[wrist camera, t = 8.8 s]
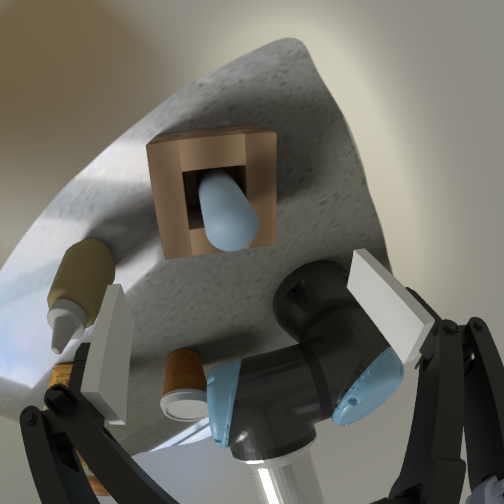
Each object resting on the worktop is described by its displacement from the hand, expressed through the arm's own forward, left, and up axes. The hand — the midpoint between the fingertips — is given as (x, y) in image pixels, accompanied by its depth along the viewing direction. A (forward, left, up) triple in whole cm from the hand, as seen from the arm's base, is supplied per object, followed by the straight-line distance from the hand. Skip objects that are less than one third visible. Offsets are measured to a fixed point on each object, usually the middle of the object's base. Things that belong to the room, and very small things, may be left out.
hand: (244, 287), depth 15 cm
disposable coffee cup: (+9, +34, -23) cm, 42 cm away
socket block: (0, 0, -23) cm, 23 cm away
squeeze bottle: (+18, +9, -23) cm, 30 cm away
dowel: (0, 0, -21) cm, 21 cm away
